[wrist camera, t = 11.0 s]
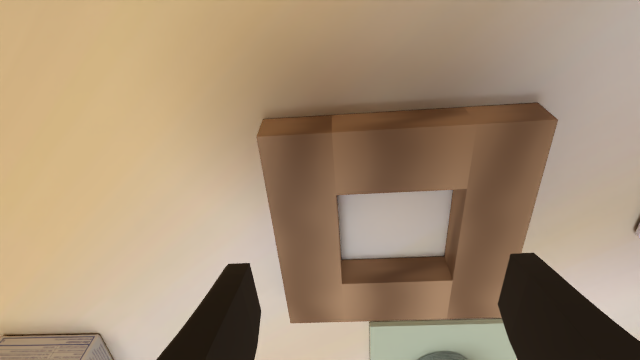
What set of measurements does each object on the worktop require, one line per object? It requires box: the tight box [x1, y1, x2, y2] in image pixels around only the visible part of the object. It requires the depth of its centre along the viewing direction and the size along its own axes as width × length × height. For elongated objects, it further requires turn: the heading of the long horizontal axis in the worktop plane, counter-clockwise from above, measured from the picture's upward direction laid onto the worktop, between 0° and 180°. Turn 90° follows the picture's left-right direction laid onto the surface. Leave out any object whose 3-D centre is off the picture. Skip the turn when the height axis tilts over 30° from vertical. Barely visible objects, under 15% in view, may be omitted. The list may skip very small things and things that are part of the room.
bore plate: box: [257, 103, 558, 323], centre depth 22 cm, size 14×14×2 cm
